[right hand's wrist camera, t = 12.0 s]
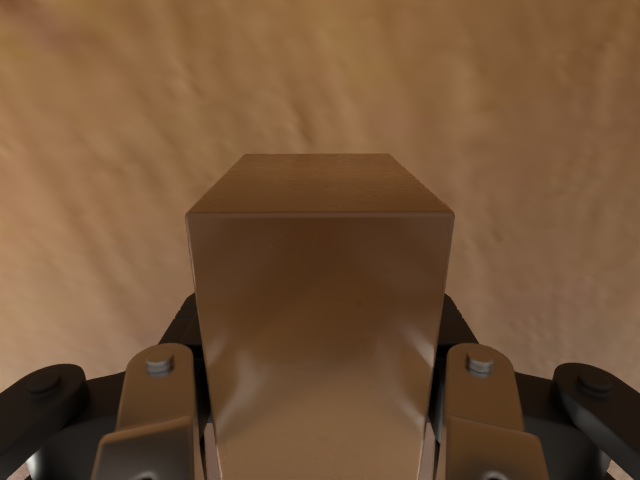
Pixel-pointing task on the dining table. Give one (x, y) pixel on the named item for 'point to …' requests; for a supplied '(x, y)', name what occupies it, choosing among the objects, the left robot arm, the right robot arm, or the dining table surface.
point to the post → (319, 314)
